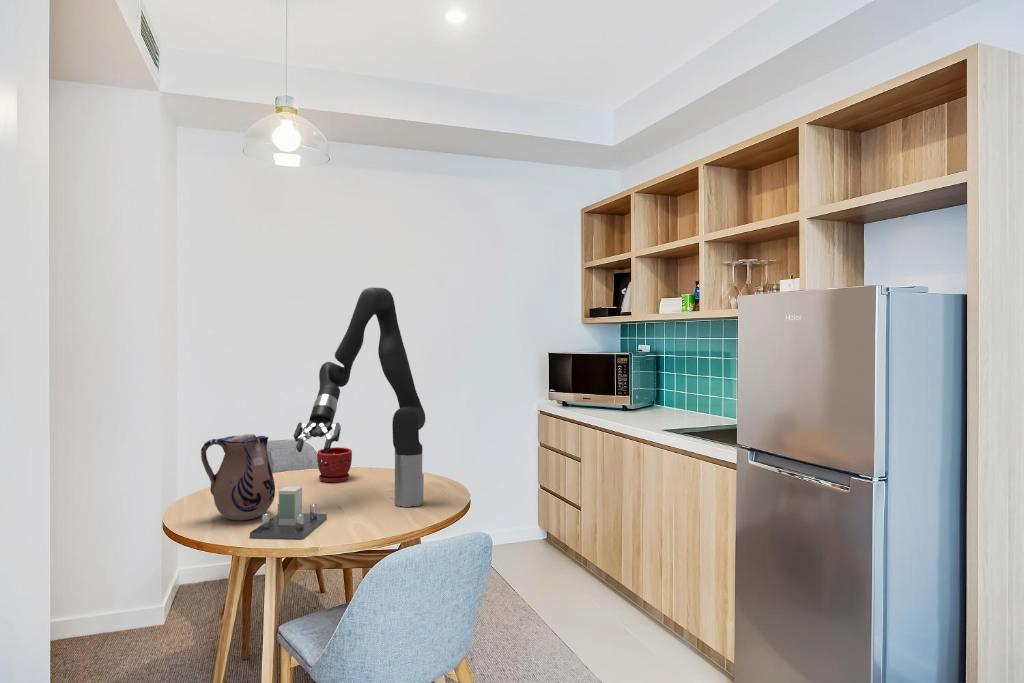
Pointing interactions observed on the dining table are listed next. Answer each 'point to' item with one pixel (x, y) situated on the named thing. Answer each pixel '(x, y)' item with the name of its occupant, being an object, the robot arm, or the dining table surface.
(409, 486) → the robot arm
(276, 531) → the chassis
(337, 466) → the plant pot
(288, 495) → the block
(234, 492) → the ceramic pitcher
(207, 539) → the dining table surface
